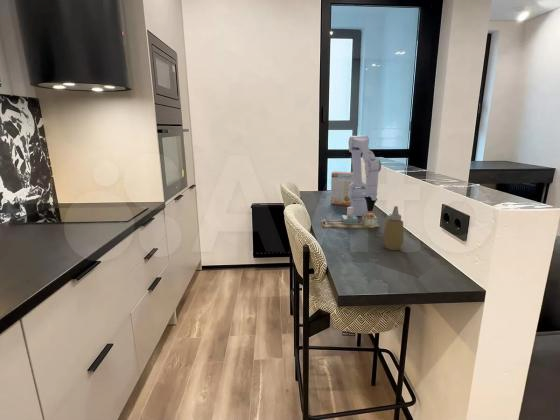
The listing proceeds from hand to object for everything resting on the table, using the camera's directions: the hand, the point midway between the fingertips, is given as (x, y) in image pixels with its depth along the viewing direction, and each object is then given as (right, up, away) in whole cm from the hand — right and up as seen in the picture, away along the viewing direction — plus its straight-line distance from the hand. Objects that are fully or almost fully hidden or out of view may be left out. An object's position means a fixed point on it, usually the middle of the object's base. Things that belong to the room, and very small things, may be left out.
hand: (369, 210), depth 165 cm
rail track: (-10, -7, +2) cm, 13 cm away
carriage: (-10, -6, +2) cm, 12 cm away
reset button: (0, -6, +1) cm, 6 cm away
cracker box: (-6, +4, +45) cm, 45 cm away
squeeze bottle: (+1, -16, -29) cm, 33 cm away
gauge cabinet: (0, -7, +2) cm, 7 cm away
